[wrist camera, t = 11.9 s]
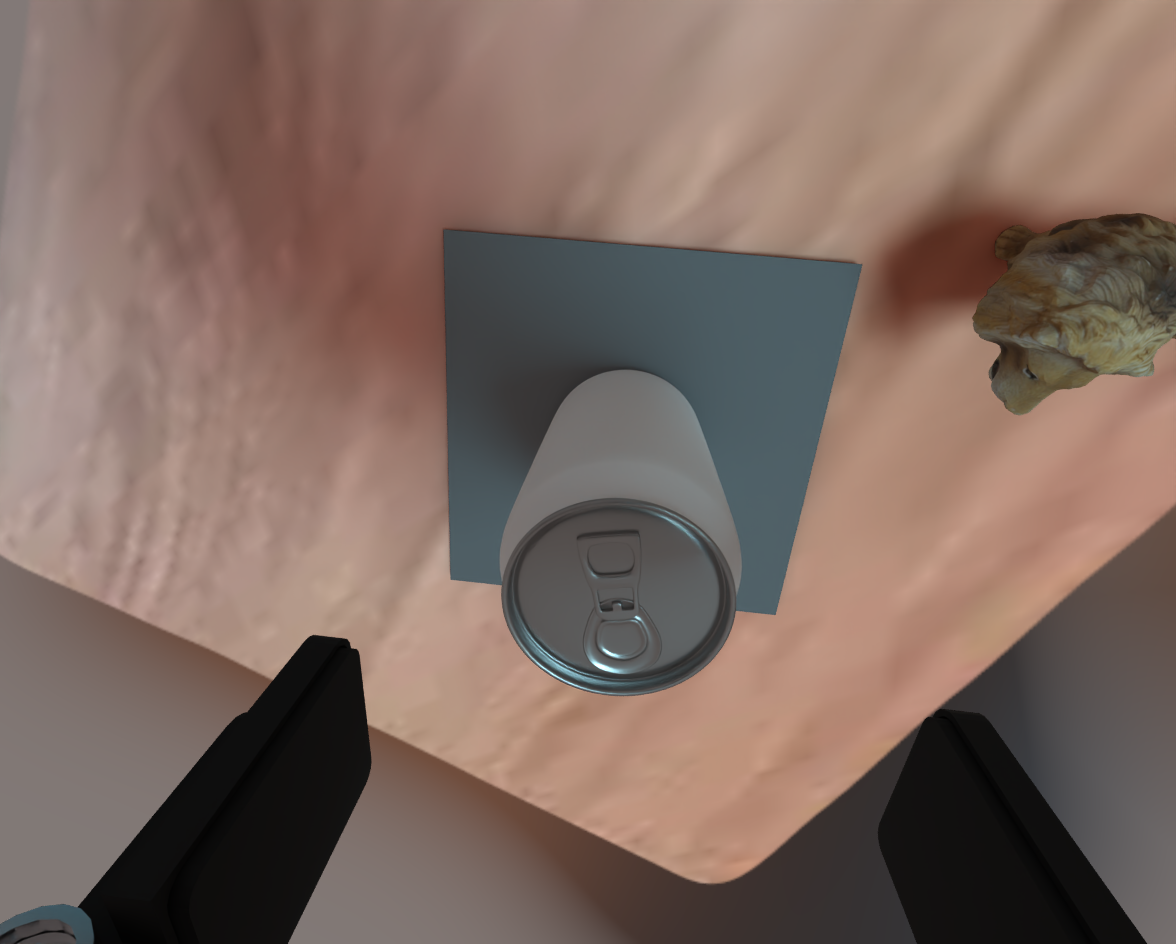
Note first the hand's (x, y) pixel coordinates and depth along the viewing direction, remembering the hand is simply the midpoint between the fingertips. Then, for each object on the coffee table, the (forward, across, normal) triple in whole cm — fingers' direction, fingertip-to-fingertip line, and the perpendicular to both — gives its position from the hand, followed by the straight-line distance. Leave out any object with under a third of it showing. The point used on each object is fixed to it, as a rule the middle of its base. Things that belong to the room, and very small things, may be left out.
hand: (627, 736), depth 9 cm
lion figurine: (+17, -16, -7) cm, 25 cm away
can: (+16, 0, +1) cm, 16 cm away
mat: (+17, 0, +1) cm, 17 cm away
